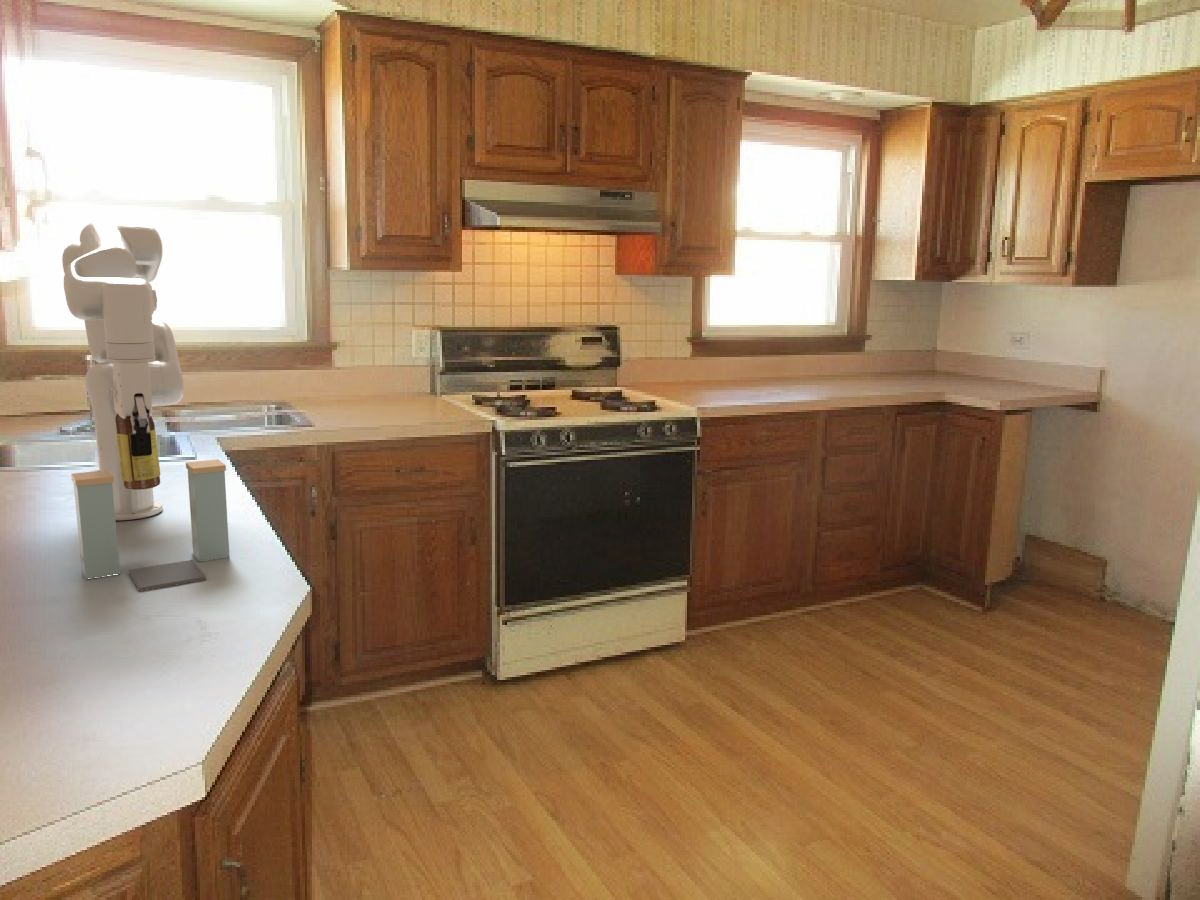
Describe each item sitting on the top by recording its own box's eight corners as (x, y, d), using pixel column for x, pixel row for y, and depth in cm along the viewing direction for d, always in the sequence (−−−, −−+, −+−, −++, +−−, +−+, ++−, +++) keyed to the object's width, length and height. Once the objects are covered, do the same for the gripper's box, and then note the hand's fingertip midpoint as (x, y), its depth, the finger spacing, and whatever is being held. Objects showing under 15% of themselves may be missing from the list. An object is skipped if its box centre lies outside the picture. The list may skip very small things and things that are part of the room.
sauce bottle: (167, 482, 163) (159, 376, 158) (151, 491, 157) (143, 381, 152) (131, 481, 163) (122, 375, 158) (114, 490, 156) (104, 379, 152)
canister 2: (191, 554, 159) (185, 462, 155) (223, 549, 162) (217, 459, 158) (198, 562, 154) (192, 468, 151) (230, 557, 158) (225, 465, 154)
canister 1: (80, 571, 148) (71, 473, 145) (116, 565, 152) (108, 470, 148) (84, 580, 144) (75, 480, 141) (121, 574, 147) (113, 476, 144)
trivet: (128, 573, 148) (128, 569, 148) (192, 563, 154) (191, 559, 154) (139, 591, 140) (138, 587, 140) (205, 579, 146) (205, 576, 146)
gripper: (99, 347, 159) (107, 444, 163) (114, 358, 145) (123, 463, 149) (145, 346, 163) (151, 441, 167) (164, 356, 150) (171, 459, 154)
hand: (138, 450), depth 158 cm, fingers closed on sauce bottle, 6 cm apart
